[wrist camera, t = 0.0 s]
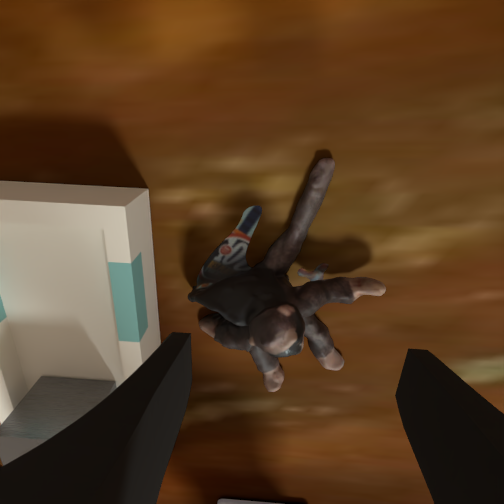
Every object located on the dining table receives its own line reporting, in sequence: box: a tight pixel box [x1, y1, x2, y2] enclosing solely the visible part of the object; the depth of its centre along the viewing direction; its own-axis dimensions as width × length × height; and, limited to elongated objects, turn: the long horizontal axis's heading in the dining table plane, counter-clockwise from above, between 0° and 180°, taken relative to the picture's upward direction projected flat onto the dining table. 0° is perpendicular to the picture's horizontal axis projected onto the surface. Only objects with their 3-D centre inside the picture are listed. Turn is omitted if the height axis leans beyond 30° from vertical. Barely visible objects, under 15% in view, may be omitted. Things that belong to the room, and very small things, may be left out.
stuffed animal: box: [188, 158, 386, 392], centre depth 22 cm, size 12×10×12 cm
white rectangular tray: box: [0, 181, 161, 424], centre depth 23 cm, size 22×13×4 cm, turn 178°
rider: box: [0, 376, 116, 466], centre depth 22 cm, size 5×5×5 cm
